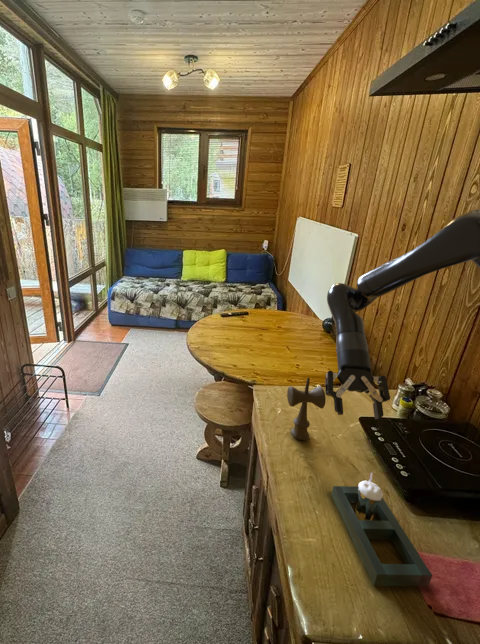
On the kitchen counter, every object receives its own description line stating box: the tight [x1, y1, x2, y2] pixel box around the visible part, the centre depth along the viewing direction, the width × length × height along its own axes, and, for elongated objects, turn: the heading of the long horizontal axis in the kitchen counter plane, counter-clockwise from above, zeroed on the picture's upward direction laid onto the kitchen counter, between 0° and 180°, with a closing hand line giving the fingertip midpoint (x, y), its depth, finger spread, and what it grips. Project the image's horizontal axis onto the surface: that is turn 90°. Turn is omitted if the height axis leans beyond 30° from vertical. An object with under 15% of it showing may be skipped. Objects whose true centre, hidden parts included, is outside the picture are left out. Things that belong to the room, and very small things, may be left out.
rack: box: [330, 485, 433, 587], centre depth 64 cm, size 10×18×3 cm, turn 0°
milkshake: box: [354, 471, 384, 521], centre depth 67 cm, size 4×5×10 cm
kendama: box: [286, 376, 327, 441], centre depth 89 cm, size 6×10×20 cm, turn 88°
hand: (359, 416), depth 74 cm, fingers open, 8 cm apart
